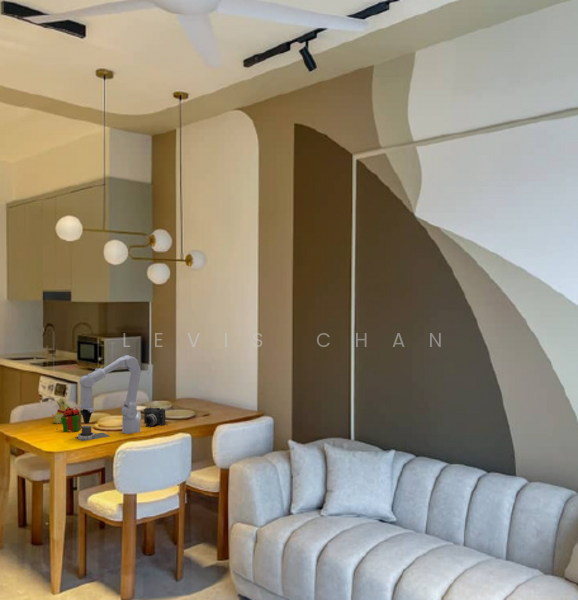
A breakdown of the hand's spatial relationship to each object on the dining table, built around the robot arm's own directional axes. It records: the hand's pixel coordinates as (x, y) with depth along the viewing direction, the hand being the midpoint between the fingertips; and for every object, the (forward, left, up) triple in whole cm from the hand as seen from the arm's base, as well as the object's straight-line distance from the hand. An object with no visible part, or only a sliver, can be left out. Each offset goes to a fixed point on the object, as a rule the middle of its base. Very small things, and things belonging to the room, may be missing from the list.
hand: (86, 423), depth 320 cm
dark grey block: (0, 0, -8) cm, 8 cm away
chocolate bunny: (-4, -46, -9) cm, 48 cm away
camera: (-44, -8, -9) cm, 45 cm away
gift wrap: (+1, -20, -9) cm, 22 cm away
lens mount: (-4, 0, -9) cm, 10 cm away
